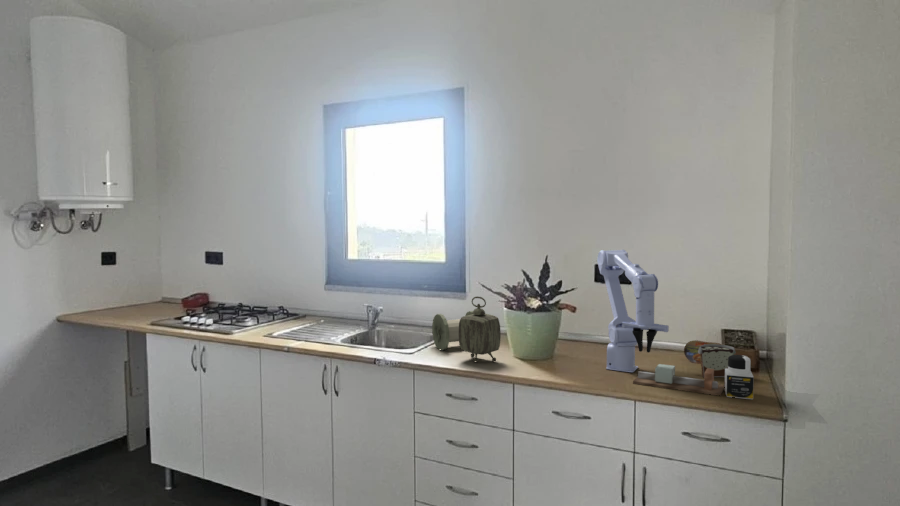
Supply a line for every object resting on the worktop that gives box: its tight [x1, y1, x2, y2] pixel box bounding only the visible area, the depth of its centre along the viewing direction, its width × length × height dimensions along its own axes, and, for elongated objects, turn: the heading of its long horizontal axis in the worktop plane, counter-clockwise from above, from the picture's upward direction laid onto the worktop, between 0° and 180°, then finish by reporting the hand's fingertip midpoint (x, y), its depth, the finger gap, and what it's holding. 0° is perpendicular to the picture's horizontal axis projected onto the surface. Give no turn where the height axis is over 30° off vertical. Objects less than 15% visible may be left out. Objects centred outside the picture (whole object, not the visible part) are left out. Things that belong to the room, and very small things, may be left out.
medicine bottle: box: [724, 354, 755, 400], centre depth 166 cm, size 7×7×12 cm
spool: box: [431, 310, 474, 351], centre depth 233 cm, size 16×15×15 cm
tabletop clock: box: [458, 296, 502, 362], centre depth 210 cm, size 14×9×25 cm, turn 48°
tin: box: [683, 339, 723, 365], centre depth 202 cm, size 15×3×8 cm, turn 47°
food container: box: [698, 344, 737, 378], centre depth 188 cm, size 12×6×10 cm, turn 92°
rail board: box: [632, 368, 725, 397], centre depth 177 cm, size 26×10×6 cm, turn 58°
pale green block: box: [654, 363, 676, 384], centre depth 179 cm, size 5×6×4 cm
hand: (644, 351), depth 182 cm, fingers closed
